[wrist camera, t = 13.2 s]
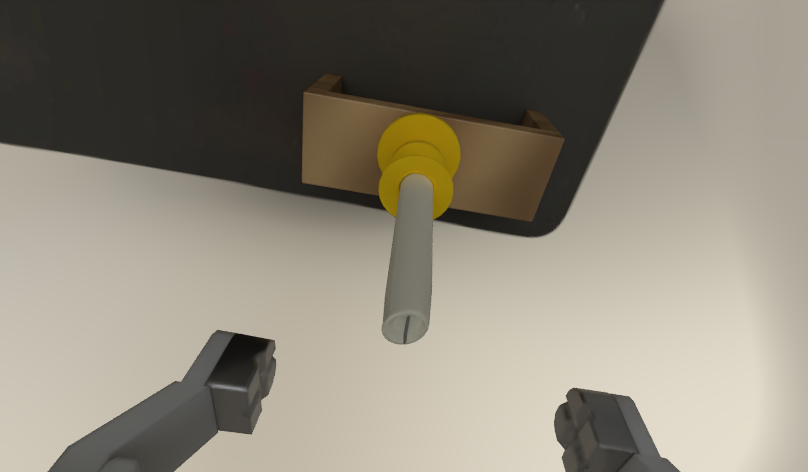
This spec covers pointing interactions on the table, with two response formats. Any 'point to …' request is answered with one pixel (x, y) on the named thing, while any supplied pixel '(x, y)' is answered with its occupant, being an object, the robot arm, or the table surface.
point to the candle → (414, 214)
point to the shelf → (478, 138)
